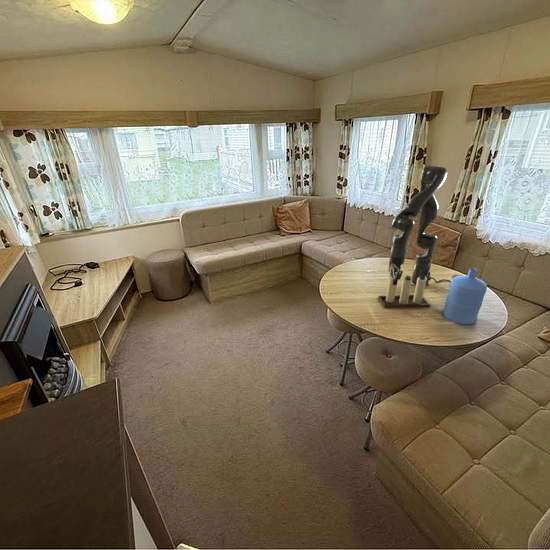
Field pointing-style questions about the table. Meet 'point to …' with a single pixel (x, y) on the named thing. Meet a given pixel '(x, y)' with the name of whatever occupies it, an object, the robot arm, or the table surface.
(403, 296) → the bottle
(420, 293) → the bottle
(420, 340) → the table surface
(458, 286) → the water jug
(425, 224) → the robot arm
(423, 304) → the tray
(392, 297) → the cream pillar candle
